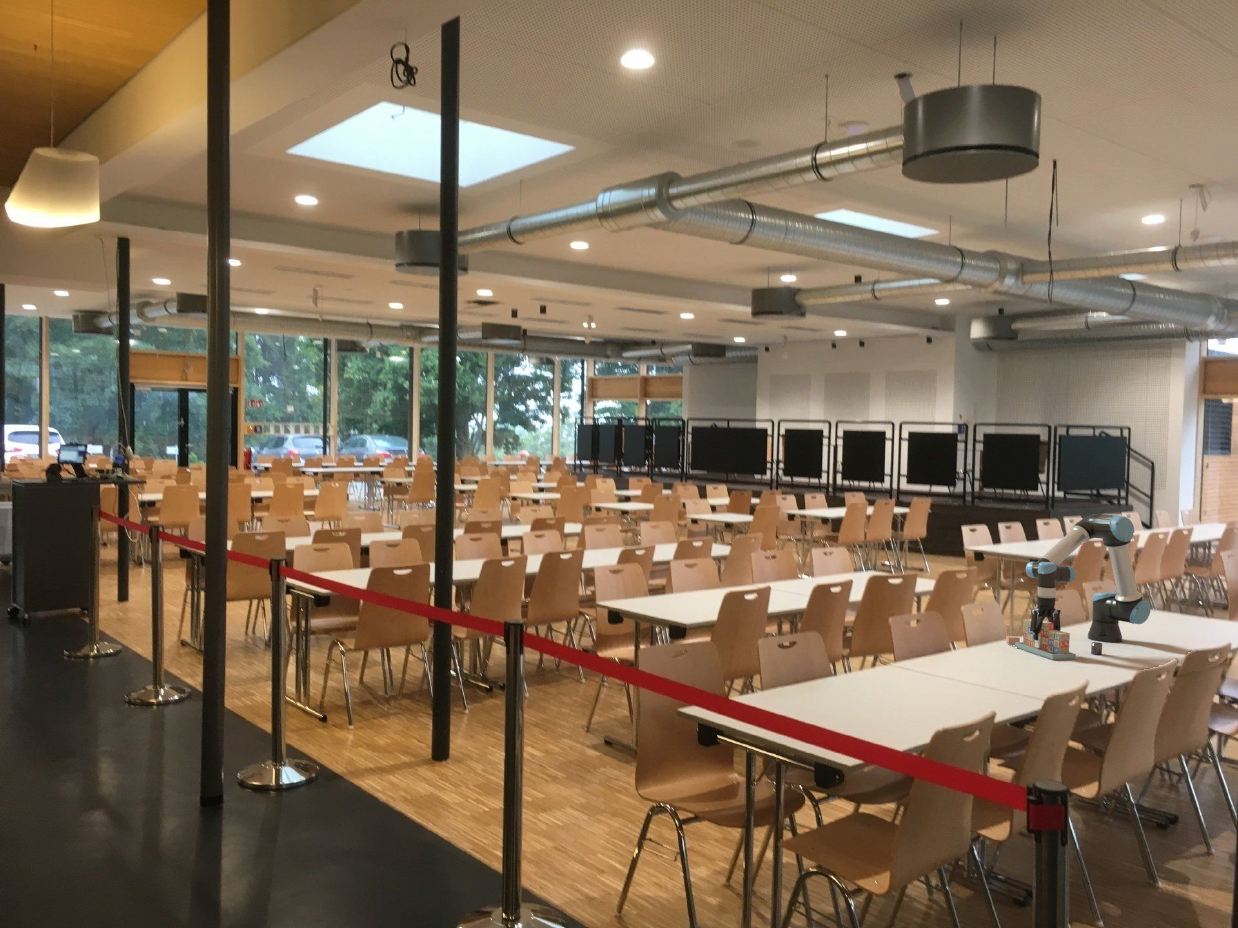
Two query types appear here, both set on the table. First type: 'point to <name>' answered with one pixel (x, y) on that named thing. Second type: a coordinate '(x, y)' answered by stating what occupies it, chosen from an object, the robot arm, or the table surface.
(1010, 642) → the terracotta block
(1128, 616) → the robot arm
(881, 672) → the table surface
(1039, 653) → the tray
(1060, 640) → the stack of blocks
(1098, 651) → the metal cylinder
